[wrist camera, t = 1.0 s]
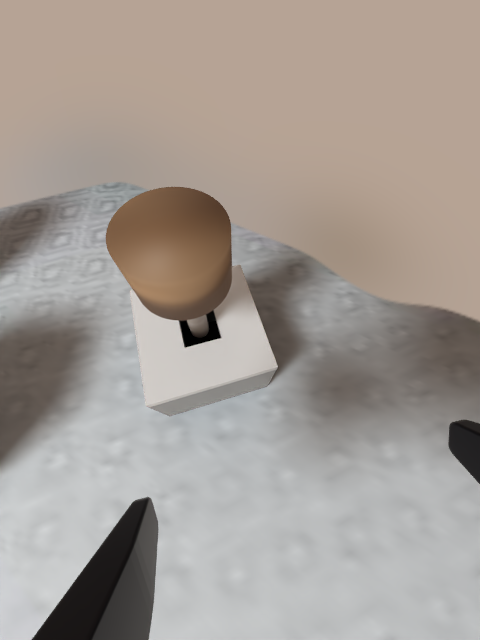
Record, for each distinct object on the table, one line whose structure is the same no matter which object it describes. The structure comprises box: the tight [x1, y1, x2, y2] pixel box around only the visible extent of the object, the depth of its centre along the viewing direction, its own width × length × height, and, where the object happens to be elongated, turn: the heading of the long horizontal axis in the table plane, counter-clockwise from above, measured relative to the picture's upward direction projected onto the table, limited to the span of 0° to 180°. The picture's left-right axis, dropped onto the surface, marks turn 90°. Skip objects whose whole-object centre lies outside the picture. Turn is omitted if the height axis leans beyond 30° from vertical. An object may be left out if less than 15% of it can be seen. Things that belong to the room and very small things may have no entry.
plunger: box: [106, 187, 232, 338], centre depth 13 cm, size 4×4×9 cm
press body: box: [130, 265, 278, 416], centre depth 20 cm, size 8×8×6 cm
